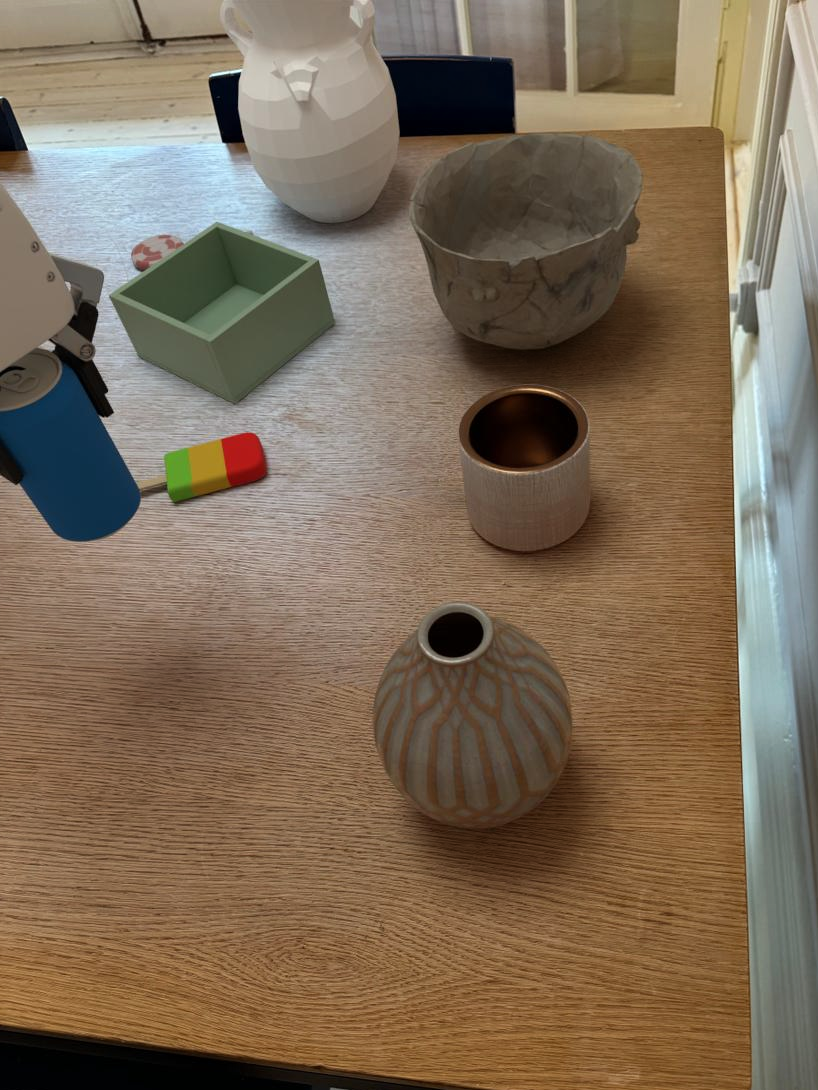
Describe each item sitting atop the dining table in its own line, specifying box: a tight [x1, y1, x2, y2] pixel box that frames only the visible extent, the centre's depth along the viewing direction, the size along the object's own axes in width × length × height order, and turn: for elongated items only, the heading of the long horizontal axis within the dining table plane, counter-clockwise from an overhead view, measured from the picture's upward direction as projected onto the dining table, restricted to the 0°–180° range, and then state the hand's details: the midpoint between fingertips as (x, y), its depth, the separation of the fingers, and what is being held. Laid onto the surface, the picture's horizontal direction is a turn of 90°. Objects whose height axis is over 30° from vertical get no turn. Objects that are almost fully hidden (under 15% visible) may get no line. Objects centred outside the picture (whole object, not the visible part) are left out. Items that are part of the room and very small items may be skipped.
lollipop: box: [130, 230, 254, 271], centre depth 108 cm, size 7×1×15 cm
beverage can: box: [0, 347, 142, 543], centre depth 57 cm, size 6×6×12 cm
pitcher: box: [219, 0, 401, 224], centre depth 102 cm, size 19×18×25 cm
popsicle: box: [135, 431, 267, 503], centre depth 84 cm, size 6×15×2 cm, turn 106°
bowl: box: [408, 132, 644, 351], centre depth 88 cm, size 22×22×15 cm
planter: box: [456, 383, 591, 552], centre depth 75 cm, size 11×11×10 cm
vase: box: [372, 601, 574, 830], centre depth 57 cm, size 13×13×18 cm
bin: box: [108, 221, 336, 405], centre depth 94 cm, size 16×16×8 cm
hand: (52, 438), depth 57 cm, fingers closed on beverage can, 6 cm apart
